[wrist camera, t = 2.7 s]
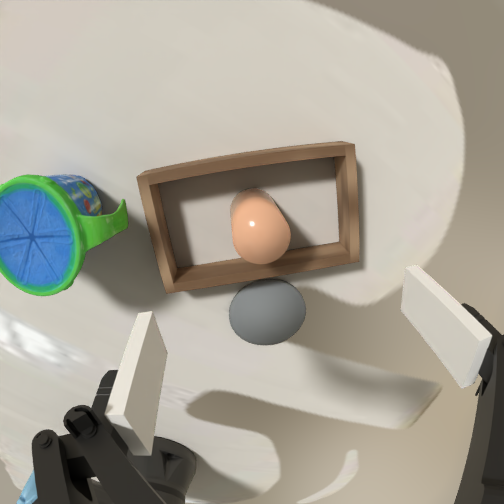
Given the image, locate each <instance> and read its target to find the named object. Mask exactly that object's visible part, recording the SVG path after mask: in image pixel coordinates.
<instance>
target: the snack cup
mask: <svg viewBox="0 0 504 504" xmlns="http://www.w3.org/2000/svg"><path fill="white" fill-rule="evenodd" d="M126 228H128V215H127V209H126V203H125V199H122V200H121V203H120V205H119V207H118V210H117V211H116V212H114V213H113V214H109V215H102V204H101V201H100V199H99V197H98V194H97V192H96V190H95V189H94V188H93V186H92V185H91V184H90V183H88V182H87V181H86V180H85V178H83V177H81V176H75V175H52V176H39V175H22V176H19V177H16V178H14V179H12V180H10V181H8V182H6V183H5V184H2V185H0V272H1V273H2V274H3V276H4V277H5V278H6V279H7V280H8V281H9V282H10V283H12V284H13V285H14V286H16V287H17V288H19V289H20V290H22V291H24V292H26V293H29V294H32V295H36V296H50V295H54V294H57V293H59V292H61V291H62V290H66V289H68V288H69V287H70V286H72V284H73V282H74V279H75V278H76V276H77V275H78V273H79V272H80V270H81V267H82V265H83V262H84V259H85V253H86V252H87V251H88V250H89V249H91V248H93V247H95V246H97V245H100V244H101V243H102V242H104V241H106V240H108V239H109V238H111V237H113V236H114V235H116V234H118V233H119V232H121V231H123V230H125V229H126Z"/></svg>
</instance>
